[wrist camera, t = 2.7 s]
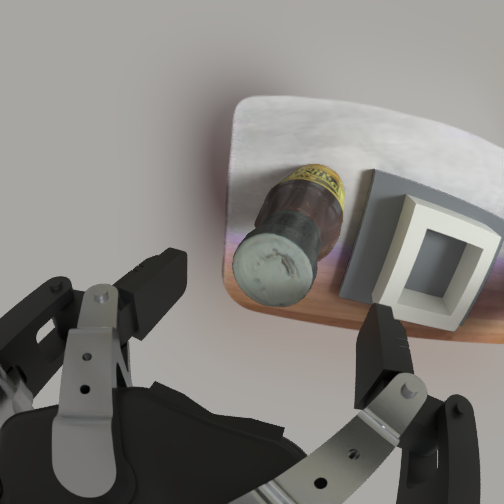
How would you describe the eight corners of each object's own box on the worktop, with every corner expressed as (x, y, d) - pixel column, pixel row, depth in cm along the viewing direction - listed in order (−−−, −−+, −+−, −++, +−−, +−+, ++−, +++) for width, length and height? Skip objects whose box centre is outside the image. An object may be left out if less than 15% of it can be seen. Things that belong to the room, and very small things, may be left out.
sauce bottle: (345, 164, 27) (361, 214, 10) (342, 217, 30) (342, 334, 13) (286, 160, 29) (209, 204, 12) (286, 213, 32) (221, 316, 15)
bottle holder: (504, 219, 22) (525, 234, 18) (458, 319, 30) (469, 344, 25) (374, 168, 27) (382, 175, 22) (338, 290, 34) (337, 315, 29)
